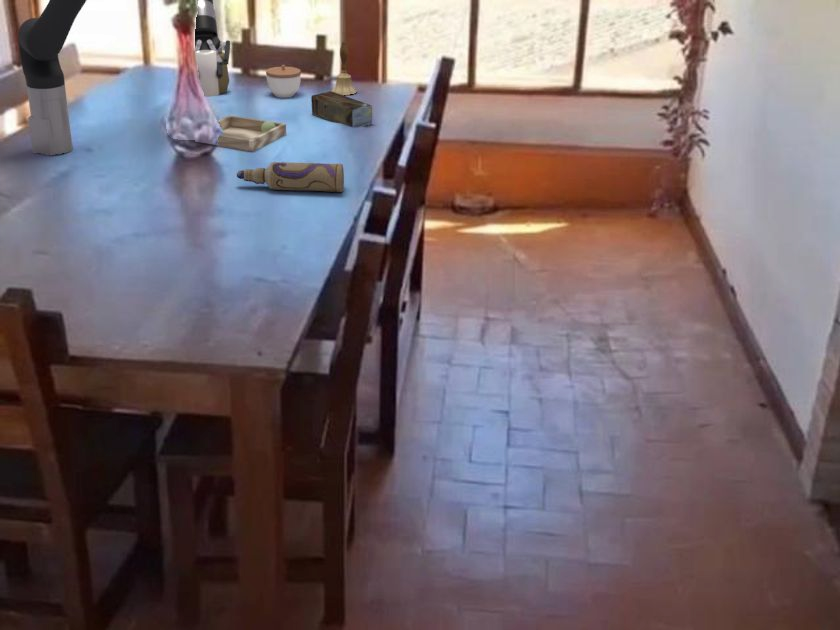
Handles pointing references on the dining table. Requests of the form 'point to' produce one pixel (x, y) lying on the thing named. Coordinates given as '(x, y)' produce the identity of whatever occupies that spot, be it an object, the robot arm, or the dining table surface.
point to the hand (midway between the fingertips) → (207, 77)
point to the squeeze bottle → (225, 79)
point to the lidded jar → (283, 81)
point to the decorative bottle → (298, 176)
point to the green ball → (267, 126)
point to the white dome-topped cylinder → (208, 72)
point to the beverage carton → (341, 109)
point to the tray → (247, 133)
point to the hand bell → (344, 75)
